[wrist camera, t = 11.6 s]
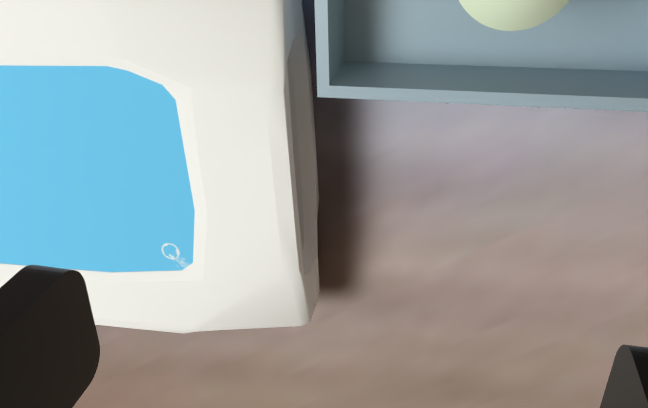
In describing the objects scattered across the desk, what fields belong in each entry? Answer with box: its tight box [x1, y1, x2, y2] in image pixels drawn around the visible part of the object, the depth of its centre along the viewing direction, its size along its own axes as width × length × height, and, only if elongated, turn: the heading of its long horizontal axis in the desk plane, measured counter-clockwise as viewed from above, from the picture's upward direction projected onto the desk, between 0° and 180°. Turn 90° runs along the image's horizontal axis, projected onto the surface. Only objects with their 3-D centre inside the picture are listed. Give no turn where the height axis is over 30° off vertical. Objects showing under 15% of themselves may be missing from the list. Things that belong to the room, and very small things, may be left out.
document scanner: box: [0, 0, 320, 333], centre depth 37 cm, size 21×28×6 cm
